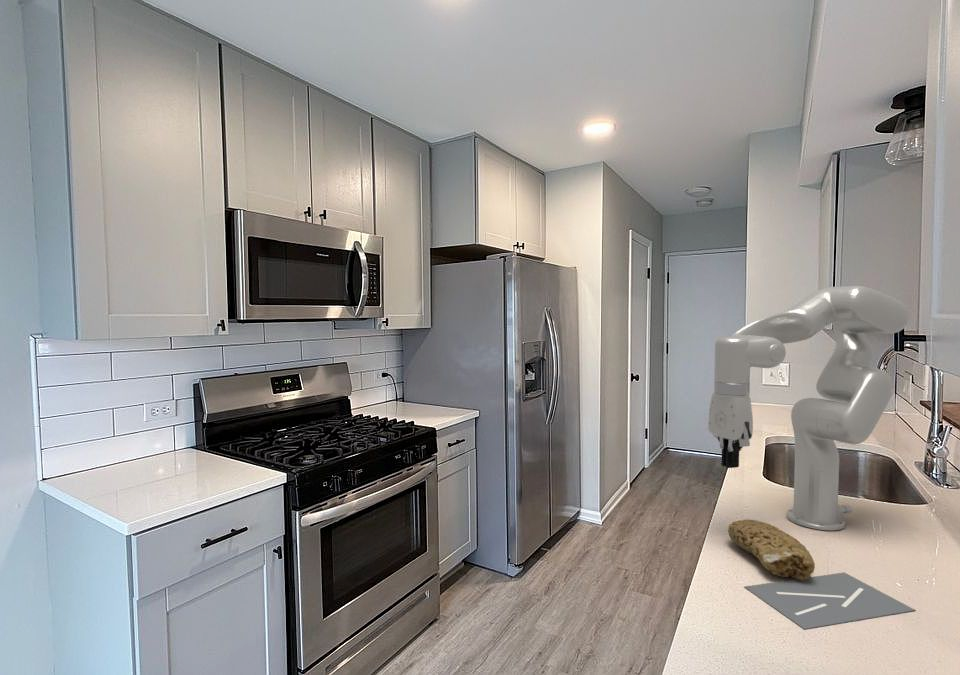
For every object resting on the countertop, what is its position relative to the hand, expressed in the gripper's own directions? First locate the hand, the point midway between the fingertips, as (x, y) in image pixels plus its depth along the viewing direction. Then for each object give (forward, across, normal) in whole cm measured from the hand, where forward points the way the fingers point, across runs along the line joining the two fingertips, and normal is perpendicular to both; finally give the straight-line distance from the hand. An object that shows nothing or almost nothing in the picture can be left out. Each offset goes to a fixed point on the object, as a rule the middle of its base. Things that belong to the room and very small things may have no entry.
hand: (730, 466), depth 123 cm
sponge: (+17, +12, 0) cm, 21 cm away
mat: (+17, +28, -1) cm, 32 cm away
